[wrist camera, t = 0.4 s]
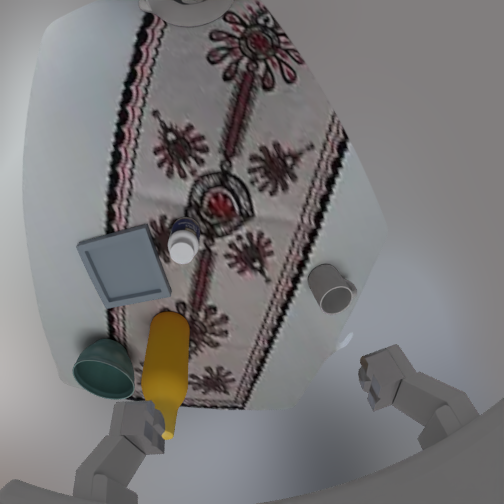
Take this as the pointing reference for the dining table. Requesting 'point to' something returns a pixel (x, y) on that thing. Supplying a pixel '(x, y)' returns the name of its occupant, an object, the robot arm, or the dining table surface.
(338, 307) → the cup
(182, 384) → the beer bottle
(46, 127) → the dining table surface
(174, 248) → the pill bottle
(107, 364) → the flower pot
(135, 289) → the dish
